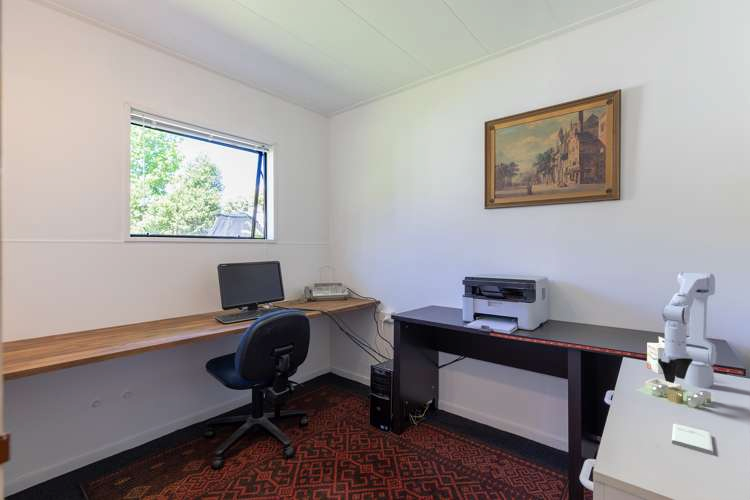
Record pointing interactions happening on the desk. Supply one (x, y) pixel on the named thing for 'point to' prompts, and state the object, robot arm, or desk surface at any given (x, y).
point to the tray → (660, 381)
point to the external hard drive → (692, 438)
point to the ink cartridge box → (655, 355)
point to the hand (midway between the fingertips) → (675, 379)
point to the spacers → (691, 400)
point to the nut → (674, 394)
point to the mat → (685, 393)
